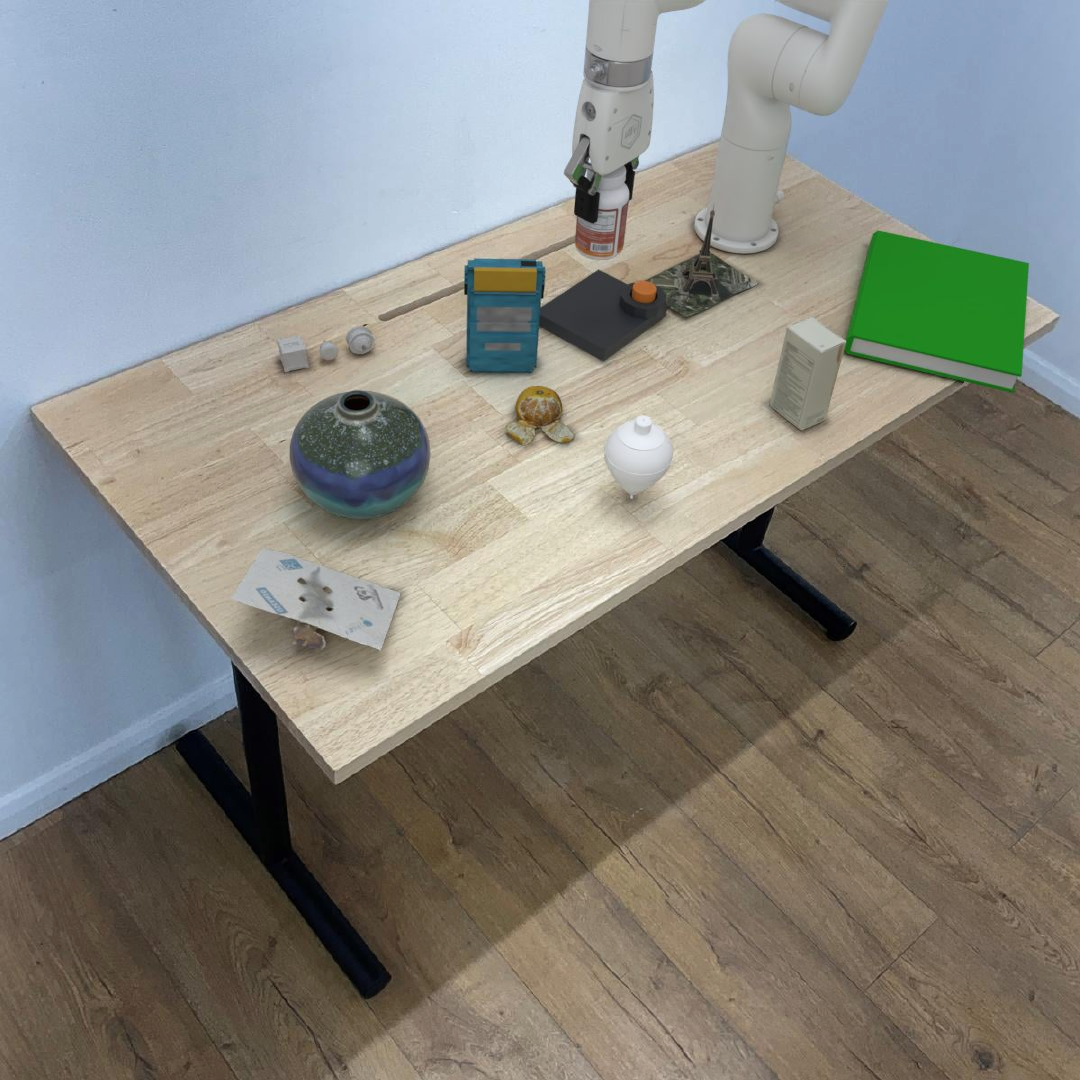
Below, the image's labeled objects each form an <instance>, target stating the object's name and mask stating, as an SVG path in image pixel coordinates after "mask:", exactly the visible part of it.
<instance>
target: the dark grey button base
mask: <svg viewBox="0 0 1080 1080" xmlns="http://www.w3.org/2000/svg"><path fill="white" fill-rule="evenodd" d="M636 282H637V281H635V282H630V283H626V282H624V281H623V280H621V279H619V278H616V277H614V276H612V275H610V274H609V273H606V272H605V271H603V270H601V269H597V270H595V271H594V272H592V273H590V274H589V275H588V276H586V277H585V278H583V279H582V280H579V282H577V283H576V284H573V286H570V288H568V289H566V290H565V291H563V292H562V293H560V294H559V295H557V296H556V297H554V298H552V299H551V300H550V301H548V302H547V303H546V304H544V305H542V306H540V320H539V328H542V329H543V330H546V331H547V332H549V333H550V334H552V335H555V336H556V337H558V338H560V339H562V340H564V341H565V342H567V343H569V344H571V345H572V346H575V347H576V348H578V349H580V350H581V351H583V352H585V353H587V354H588V355H591V356H592V357H594V358H596V359H598V360H600V361H602V362H605V361H607V360H608V359H610V358H611V357H613V356H614V355H615V354H616V353H617V352H619V351H620V350H622V349H623V348H625V347H626V346H627V345H628V344H630V343H632V342H633V341H634V340H635V339H636V338H638V337H639V336H641V335H643V333H645V332H646V331H648V330H649V329H650V328H652V327H653V326H654V325H656V324H657V323H658V322H661V320H663V319H664V318H666V316H667V312H668V307H669V306H668V305H667V304H665V302H666V296H667V295H666V293H665V292H664V291H663V289H662V288H660V287H658V286H656V285H655V286H656V288H657V290H656V296H655V300H654V301H653V302H651V303H640V302H637V301H635V300H633V299H632V289H633V285H634V284H635V283H636Z"/></svg>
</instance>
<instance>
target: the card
mask: <svg viewBox="0 0 1080 1080" xmlns="http://www.w3.org/2000/svg"><path fill="white" fill-rule="evenodd" d="M401 595H402V593H401V592H399V591H395V590H392V589H390V588H387V587H384V586H381V584H377V583H373V582H371V581H367V580H364V579H361V578H359V577H356V576H352V575H349V574H348V573H345V572H341V571H338V570H335V569H332V568H329V567H327V566H324V565H321V564H316V563H314V562H313V561H308V560H306V559H302V558H299V557H297V556H295V555H292V554H289V553H286V552H281V551H277V550H273V549H272V548H270V547H269V548H268V547H264V546H262V548H261V549H260V551H259V553H258V554H257V556H256V558H255V559H254V561H253V562H252V564H251V566H250V567H249V569H248V571H247V572H246V574H245V575H244V576H243V579H242V580H241V582H240V583H239V584H238V587H237V588H236V590H235V591H234V593H233V595H232V596H231V597H230V599H231V600H232V601H236V602H239V603H242V604H245V605H247V606H250V607H253V608H256V609H259V610H261V611H264V612H268V613H272V614H275V615H279V616H282V617H286V618H288V619H292V620H294V621H296V624H295V625H292V626H291V630H290V632H291V634H290V637H293V638H294V640H293V641H292V645H293V646H296V645H298V644H301V647H307V648H308V649H315V650H318V649H320V650H322V651H323V650H324V649H325V647H326V646H327V645H326V644H327V641H326V639H325V636H324V635H323V634H320V633H319V632H317V630H318V629H321V630H324V631H325V632H328V633H332V634H334V635H336V636H339V637H341V638H344V639H347V640H349V641H352V642H355V643H358V644H361V645H363V646H369V647H370V649H374V648H375V649H376V650H379V652H380V651H382V648H383V645H384V642H385V640H386V636H387V634H388V632H389V629H390V626H391V623H392V620H393V618H394V614H395V611H396V608H397V606H398V603H399V600H400V598H401Z"/></svg>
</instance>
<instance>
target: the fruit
mask: <svg viewBox="0 0 1080 1080" xmlns="http://www.w3.org/2000/svg"><path fill="white" fill-rule="evenodd" d="M514 410H515V414H516V419H517V421H514V422H509V423H507V425H506V426H505V432H506V433H507V434H508V435H509V436H511V438H512V439H513V440H514V441H515V442H517V443H518V444H520V445H522V446H527V445H528V444H531V443H532V441H533V439H534V438H535V436H536V433H535V429H537V428H540V429H542V430H541V431H542V432H544V434H546V435H547V437H549V439H551V440H552V441H554V442H556V443H567V442H570V441H571V440H573V439H574V438H575V437H576V436H575V435H576V434H575V433H574V432H573V431H572V430H571V429H570V428H569V427H568V426H567V425H565V423H562V422H561V421H560V419H561V417H562V415H563V403H562V399H561V398H560V395H559V394H558V393H557V392H556V391H555V390H554V389H551V388H550V387H547V386H543V385H531V386H528V387H527V388H525V389H523V390H522V391H520V394H519V395H518V397H517V399H516V403H515V406H514Z"/></svg>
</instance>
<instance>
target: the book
mask: <svg viewBox="0 0 1080 1080" xmlns="http://www.w3.org/2000/svg"><path fill="white" fill-rule="evenodd" d="M868 245H869V246H868V249H867V254H866V257H865V262H864V266H863V270H862V274H861V278H860V282H859V285H858V290H857V293H856V298H855V302H854V306H853V309H852V314H851V318H850V323H849V325H848V330H847V334H846V339H845V341H846V345H845V349H844V352H845V354H847V355H851V356H855V357H858V358H862V359H863V358H864V359H866V360H867V359H868V360H872V361H876V362H881V363H885V364H889V365H893V366H897V367H902V368H906V369H909V370H914V371H919V372H921V373H927V374H931V375H935V376H940V377H944V378H947V379H952V380H955V381H961V382H965V383H969V384H974V385H977V386H980V387H981V386H982V387H986V388H990V389H995V390H999V391H1003V392H1008V393H1010V394H1014V393H1015V389H1016V382H1017V379H1018V378H1021V377H1022V375H1023V362H1024V347H1025V331H1026V330H1025V329H1026V315H1027V301H1028V300H1027V299H1028V285H1029V283H1028V282H1029V268H1030V262H1027V261H1023V260H1017V259H1013V258H1009V257H1003V256H999V255H994V254H990V253H984V252H980V251H975V250H971V249H966V248H962V247H957V246H952V245H948V244H944V243H938V242H934V241H929V240H925V239H920V238H916V237H911V236H907V235H902V234H898V233H893V232H888V231H883V230H876V231H874V232H873V233H872V235H871V238H870V242H869V244H868Z"/></svg>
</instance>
